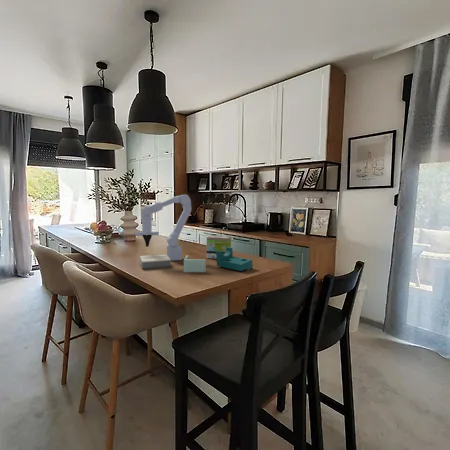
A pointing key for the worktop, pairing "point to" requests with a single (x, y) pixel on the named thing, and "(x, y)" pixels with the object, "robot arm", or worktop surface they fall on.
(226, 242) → the tea box
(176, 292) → the worktop surface
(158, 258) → the lid
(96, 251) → the worktop surface
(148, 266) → the storage box
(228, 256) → the teal stepped block
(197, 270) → the l-shaped corner panel
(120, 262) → the worktop surface
